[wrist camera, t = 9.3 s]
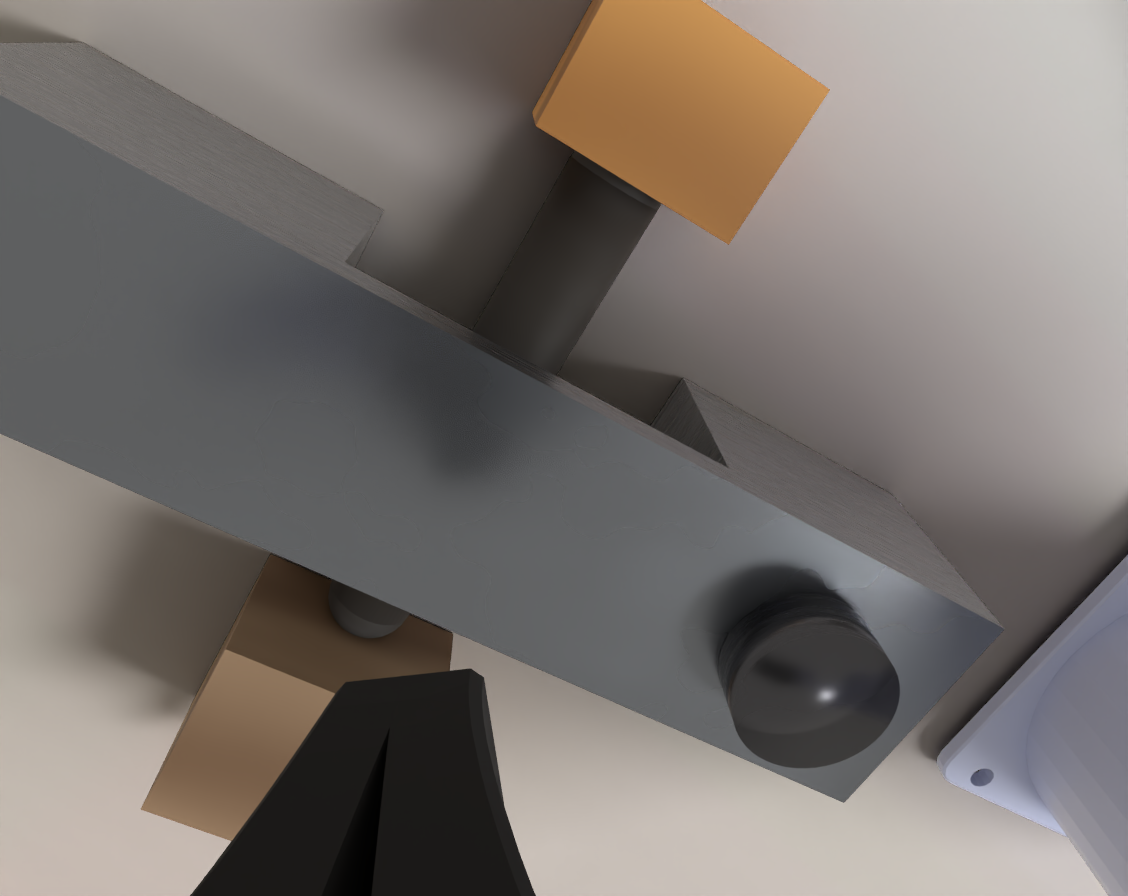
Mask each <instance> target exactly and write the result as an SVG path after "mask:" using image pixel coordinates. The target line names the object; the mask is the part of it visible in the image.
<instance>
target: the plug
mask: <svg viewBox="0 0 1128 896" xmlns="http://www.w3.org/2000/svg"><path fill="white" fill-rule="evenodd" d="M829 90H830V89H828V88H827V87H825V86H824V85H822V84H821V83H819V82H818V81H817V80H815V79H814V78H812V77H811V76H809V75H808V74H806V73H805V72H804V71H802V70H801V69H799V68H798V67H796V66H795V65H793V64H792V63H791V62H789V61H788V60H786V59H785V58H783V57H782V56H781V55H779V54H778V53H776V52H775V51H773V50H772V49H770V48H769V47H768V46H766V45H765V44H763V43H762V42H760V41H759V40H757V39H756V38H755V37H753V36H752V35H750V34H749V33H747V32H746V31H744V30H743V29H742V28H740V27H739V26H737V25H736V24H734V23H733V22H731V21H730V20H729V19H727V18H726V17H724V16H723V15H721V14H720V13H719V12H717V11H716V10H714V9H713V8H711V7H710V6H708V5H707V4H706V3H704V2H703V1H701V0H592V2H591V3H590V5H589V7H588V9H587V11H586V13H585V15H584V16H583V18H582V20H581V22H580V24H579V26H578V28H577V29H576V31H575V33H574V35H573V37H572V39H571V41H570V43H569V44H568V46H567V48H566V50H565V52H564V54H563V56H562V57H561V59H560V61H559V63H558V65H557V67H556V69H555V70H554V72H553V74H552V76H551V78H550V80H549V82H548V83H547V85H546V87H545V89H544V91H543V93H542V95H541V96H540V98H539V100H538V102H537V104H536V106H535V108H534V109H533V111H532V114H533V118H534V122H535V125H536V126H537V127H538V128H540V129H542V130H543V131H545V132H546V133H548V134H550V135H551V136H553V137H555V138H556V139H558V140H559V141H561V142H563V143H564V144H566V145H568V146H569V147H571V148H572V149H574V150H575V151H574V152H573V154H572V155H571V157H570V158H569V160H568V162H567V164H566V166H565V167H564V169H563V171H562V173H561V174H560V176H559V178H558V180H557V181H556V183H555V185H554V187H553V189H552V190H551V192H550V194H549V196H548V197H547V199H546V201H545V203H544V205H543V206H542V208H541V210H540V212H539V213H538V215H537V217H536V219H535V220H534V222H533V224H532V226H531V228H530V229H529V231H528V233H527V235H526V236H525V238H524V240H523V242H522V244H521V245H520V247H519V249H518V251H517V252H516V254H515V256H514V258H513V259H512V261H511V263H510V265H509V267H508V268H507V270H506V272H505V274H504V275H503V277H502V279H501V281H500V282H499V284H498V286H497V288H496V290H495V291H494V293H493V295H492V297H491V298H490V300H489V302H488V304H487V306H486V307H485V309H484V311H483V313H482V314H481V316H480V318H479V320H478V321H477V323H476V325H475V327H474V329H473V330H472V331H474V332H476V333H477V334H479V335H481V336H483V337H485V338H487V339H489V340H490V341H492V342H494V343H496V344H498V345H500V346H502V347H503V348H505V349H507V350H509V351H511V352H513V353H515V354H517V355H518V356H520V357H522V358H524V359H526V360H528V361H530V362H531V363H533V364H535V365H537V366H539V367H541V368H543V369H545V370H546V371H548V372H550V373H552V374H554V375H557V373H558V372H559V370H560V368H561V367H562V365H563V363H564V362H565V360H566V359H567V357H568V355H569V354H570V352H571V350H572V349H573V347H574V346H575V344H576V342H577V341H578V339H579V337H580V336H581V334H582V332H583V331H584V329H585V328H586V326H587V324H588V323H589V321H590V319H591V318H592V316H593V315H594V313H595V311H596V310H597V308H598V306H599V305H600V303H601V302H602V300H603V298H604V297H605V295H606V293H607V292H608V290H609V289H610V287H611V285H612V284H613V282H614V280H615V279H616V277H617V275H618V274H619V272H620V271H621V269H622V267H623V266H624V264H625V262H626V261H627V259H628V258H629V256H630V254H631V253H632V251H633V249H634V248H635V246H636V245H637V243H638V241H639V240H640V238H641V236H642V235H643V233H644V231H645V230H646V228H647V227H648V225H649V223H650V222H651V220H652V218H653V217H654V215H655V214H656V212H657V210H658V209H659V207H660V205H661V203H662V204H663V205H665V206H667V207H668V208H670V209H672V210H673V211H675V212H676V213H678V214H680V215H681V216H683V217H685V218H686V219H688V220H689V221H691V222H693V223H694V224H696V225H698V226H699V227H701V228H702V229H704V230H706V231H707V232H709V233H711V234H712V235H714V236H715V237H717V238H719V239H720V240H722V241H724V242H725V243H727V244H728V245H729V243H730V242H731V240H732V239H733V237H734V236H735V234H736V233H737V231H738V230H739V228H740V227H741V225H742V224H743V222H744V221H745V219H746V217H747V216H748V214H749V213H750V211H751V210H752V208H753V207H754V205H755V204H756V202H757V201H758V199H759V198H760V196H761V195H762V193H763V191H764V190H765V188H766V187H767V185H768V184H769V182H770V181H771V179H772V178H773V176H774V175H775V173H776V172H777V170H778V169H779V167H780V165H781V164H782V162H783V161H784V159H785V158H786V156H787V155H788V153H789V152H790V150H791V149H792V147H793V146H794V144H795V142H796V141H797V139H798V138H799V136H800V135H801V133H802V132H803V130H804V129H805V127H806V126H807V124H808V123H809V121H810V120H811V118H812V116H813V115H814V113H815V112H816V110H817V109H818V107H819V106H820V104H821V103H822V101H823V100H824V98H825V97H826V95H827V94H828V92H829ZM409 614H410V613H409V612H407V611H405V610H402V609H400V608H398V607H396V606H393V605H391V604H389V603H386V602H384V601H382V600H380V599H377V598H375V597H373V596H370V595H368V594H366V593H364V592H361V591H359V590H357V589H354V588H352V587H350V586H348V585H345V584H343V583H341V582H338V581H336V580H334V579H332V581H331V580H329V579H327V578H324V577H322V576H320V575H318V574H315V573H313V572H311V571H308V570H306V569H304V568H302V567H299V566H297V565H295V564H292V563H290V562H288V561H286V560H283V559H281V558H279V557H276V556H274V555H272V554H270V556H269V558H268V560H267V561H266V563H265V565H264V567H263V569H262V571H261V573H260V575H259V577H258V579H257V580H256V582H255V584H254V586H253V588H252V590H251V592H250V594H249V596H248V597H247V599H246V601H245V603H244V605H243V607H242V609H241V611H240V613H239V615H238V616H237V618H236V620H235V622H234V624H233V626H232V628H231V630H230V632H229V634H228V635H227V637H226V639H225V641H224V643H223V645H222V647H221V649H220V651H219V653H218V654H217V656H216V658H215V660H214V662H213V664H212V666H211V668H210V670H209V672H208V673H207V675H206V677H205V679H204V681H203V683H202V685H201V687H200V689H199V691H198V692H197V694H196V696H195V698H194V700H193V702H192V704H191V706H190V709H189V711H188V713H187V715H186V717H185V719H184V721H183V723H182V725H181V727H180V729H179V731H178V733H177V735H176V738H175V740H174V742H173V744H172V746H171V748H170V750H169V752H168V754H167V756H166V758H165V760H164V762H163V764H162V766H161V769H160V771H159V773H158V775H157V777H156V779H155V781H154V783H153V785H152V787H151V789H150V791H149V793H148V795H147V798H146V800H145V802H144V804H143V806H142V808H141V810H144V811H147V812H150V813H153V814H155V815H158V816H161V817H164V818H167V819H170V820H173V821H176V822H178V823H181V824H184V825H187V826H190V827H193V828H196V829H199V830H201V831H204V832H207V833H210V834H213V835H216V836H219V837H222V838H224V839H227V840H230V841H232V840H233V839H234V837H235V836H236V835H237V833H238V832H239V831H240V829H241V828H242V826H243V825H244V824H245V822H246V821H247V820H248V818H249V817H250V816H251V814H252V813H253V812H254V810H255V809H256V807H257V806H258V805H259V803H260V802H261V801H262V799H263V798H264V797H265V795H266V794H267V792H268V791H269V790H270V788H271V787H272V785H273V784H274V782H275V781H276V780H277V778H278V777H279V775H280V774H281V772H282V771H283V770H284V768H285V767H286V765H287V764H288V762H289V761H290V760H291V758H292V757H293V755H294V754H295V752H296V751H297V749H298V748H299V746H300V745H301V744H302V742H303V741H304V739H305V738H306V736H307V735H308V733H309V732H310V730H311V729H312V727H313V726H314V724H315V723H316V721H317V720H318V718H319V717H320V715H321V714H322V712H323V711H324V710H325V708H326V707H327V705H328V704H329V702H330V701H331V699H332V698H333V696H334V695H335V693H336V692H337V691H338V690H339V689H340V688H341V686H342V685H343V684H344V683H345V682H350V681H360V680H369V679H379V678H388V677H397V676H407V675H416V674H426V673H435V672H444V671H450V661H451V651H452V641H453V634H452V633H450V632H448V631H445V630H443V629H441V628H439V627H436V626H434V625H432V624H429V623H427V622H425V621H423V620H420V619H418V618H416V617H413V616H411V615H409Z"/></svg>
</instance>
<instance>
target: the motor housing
mask: <svg viewBox="0 0 1128 896" xmlns="http://www.w3.org/2000/svg"><path fill="white" fill-rule="evenodd" d="M383 211H384V210H382V209H380V208H379V207H377V206H375V205H373V204H371V203H370V202H368V201H366V200H364V199H362V198H361V197H359V196H357V195H355V194H353V193H352V192H350V191H348V190H346V189H345V188H343V187H341V186H339V185H337V184H336V183H334V182H332V181H330V180H328V179H327V178H325V177H323V176H321V175H319V174H318V173H316V172H314V171H312V170H311V169H309V168H307V167H305V166H303V165H302V164H300V163H298V162H296V161H294V160H293V159H291V158H289V157H287V156H285V155H284V154H282V153H280V152H278V151H277V150H275V149H273V148H271V147H269V146H268V145H266V144H264V143H262V142H260V141H259V140H257V139H255V138H253V137H251V136H250V135H248V134H246V133H244V132H243V131H241V130H239V129H237V128H235V127H234V126H232V125H230V124H228V123H226V122H225V121H223V120H221V119H219V118H217V117H216V116H214V115H212V114H210V113H208V112H207V111H205V110H203V109H201V108H200V107H198V106H196V105H194V104H192V103H191V102H189V101H187V100H185V99H183V98H182V97H180V96H178V95H176V94H174V93H173V92H171V91H169V90H167V89H166V88H164V87H162V86H160V85H158V84H157V83H155V82H153V81H151V80H149V79H148V78H146V77H144V76H142V75H140V74H139V73H137V72H135V71H133V70H132V69H130V68H128V67H126V66H124V65H123V64H121V63H119V62H117V61H115V60H114V59H112V58H110V57H108V56H106V55H105V54H103V53H101V52H99V51H98V50H96V49H94V48H92V47H90V46H89V45H87V44H85V43H0V434H3V435H5V436H7V437H9V438H12V439H14V440H16V441H19V442H21V443H23V444H25V445H28V446H30V447H32V448H35V449H37V450H39V451H41V452H44V453H46V454H48V455H51V456H53V457H55V458H57V459H60V460H62V461H64V462H67V463H69V464H71V465H73V466H76V467H78V468H80V469H83V470H85V471H87V472H89V473H92V474H94V475H96V476H99V477H101V478H103V479H105V480H108V481H110V482H112V483H115V484H117V485H119V486H121V487H124V488H126V489H128V490H131V491H133V492H135V493H137V494H140V495H142V496H144V497H147V498H149V499H151V500H153V501H156V502H158V503H160V504H163V505H165V506H167V507H169V508H172V509H174V510H176V511H179V512H181V513H183V514H185V515H188V516H190V517H192V518H194V519H197V520H199V521H201V522H204V523H206V524H208V525H210V526H213V527H215V528H217V529H220V530H222V531H224V532H226V533H229V534H231V535H233V536H236V537H238V538H240V539H242V540H245V541H247V542H249V543H252V544H254V545H256V546H258V547H261V548H263V549H265V550H268V551H270V552H272V553H274V554H277V555H279V556H281V557H284V558H286V559H288V560H290V561H293V562H295V563H297V564H300V565H302V566H304V567H306V568H309V569H311V570H313V571H316V572H318V573H320V574H322V575H325V576H327V577H329V578H332V579H334V580H336V581H338V582H341V583H343V584H345V585H348V586H350V587H352V588H354V589H357V590H359V591H361V592H364V593H366V594H368V595H370V596H373V597H375V598H377V599H380V600H382V601H384V602H386V603H389V604H391V605H393V606H396V607H398V608H400V609H402V610H405V611H407V612H409V613H412V614H414V615H416V616H418V617H421V618H423V619H425V620H428V621H430V622H432V623H434V624H437V625H439V626H441V627H444V628H446V629H448V630H450V631H453V632H455V633H457V634H459V635H462V636H464V637H466V638H469V639H471V640H473V641H475V642H478V643H480V644H482V645H485V646H487V647H489V648H491V649H494V650H496V651H498V652H501V653H503V654H505V655H507V656H510V657H512V658H514V659H517V660H519V661H521V662H523V663H526V664H528V665H530V666H533V667H535V668H537V669H539V670H542V671H544V672H546V673H549V674H551V675H553V676H555V677H558V678H560V679H562V680H565V681H567V682H569V683H571V684H574V685H576V686H578V687H581V688H583V689H585V690H587V691H590V692H592V693H594V694H597V695H599V696H601V697H603V698H606V699H608V700H610V701H613V702H615V703H617V704H619V705H622V706H624V707H626V708H629V709H631V710H633V711H635V712H638V713H640V714H642V715H645V716H647V717H649V718H651V719H654V720H656V721H658V722H661V723H663V724H665V725H667V726H670V727H672V728H674V729H677V730H679V731H681V732H683V733H686V734H688V735H690V736H693V737H695V738H697V739H699V740H702V741H704V742H706V743H709V744H711V745H713V746H715V747H718V748H720V749H722V750H724V751H727V752H729V753H731V754H734V755H736V756H738V757H740V758H743V759H745V760H747V761H750V762H752V763H754V764H756V765H759V766H761V767H763V768H766V769H768V770H770V771H772V772H775V773H777V774H779V775H782V776H784V777H786V778H788V779H791V780H793V781H795V782H798V783H800V784H802V785H804V786H807V787H809V788H811V789H814V790H816V791H818V792H820V793H823V794H825V795H827V796H830V797H832V798H834V799H836V800H839V801H841V802H843V803H844V802H845V801H846V800H847V799H848V798H849V797H850V796H851V795H852V794H853V793H854V791H855V790H856V789H857V788H858V787H859V786H860V785H861V784H862V783H863V782H864V781H865V780H866V779H867V777H868V776H869V775H870V774H871V773H872V772H873V771H874V770H875V769H876V768H877V767H878V766H879V764H880V763H881V762H882V761H883V760H884V759H885V758H886V757H887V756H888V755H889V754H890V753H891V751H892V750H893V749H894V748H895V747H896V746H897V745H898V744H899V743H900V742H901V741H902V740H903V738H904V737H905V736H906V735H907V734H908V733H909V732H910V731H911V730H912V729H913V728H914V727H915V725H916V724H917V723H918V722H919V721H920V720H921V719H922V718H923V717H924V716H925V715H926V714H927V712H928V711H929V710H930V709H931V708H932V707H933V706H934V705H935V704H936V703H937V702H938V701H939V699H940V698H941V697H942V696H943V695H944V694H945V693H946V692H947V691H948V690H949V689H950V688H951V686H952V685H953V684H954V683H955V682H956V681H957V680H958V679H959V678H960V677H961V676H962V675H963V674H964V672H965V671H966V670H967V669H968V668H969V667H970V666H971V665H972V664H973V663H974V662H975V661H976V659H977V658H978V657H979V656H980V655H981V654H982V653H983V652H984V651H985V650H986V649H987V648H988V646H989V645H990V644H991V643H992V642H993V641H994V640H995V639H996V638H997V637H998V636H999V635H1000V633H1001V632H1002V631H1003V630H1004V627H1003V626H1002V625H1001V624H1000V623H999V621H998V620H997V619H996V618H995V617H994V615H993V614H992V613H991V612H990V611H989V609H988V608H987V607H986V606H985V605H984V603H983V602H982V601H981V600H980V599H979V597H978V596H977V595H976V594H975V593H974V591H973V590H972V589H971V588H970V587H969V585H968V584H967V583H966V582H965V581H964V579H963V578H962V577H961V576H960V575H959V573H958V572H957V571H956V570H955V569H954V567H953V566H952V565H951V564H950V563H949V562H948V560H947V559H946V558H945V557H944V556H943V554H942V553H941V552H940V551H939V550H938V548H937V547H936V546H935V545H934V544H933V542H932V541H931V540H930V539H929V538H928V536H927V535H926V534H925V533H924V532H923V530H922V529H921V528H920V527H919V526H918V524H917V523H916V522H915V521H914V520H913V518H912V517H911V516H910V515H909V514H908V512H907V511H906V510H905V509H904V508H903V506H902V505H901V504H900V503H899V502H898V500H897V499H896V498H895V497H894V496H893V495H892V494H890V493H889V492H887V491H885V490H883V489H881V488H880V487H878V486H876V485H874V484H872V483H871V482H869V481H867V480H865V479H863V478H862V477H860V476H858V475H856V474H855V473H853V472H851V471H849V470H847V469H846V468H844V467H842V466H840V465H838V464H837V463H835V462H833V461H831V460H829V459H828V458H826V457H824V456H822V455H821V454H819V453H817V452H815V451H813V450H812V449H810V448H808V447H806V446H804V445H803V444H801V443H799V442H797V441H795V440H794V439H792V438H790V437H788V436H787V435H785V434H783V433H781V432H779V431H778V430H776V429H774V428H772V427H770V426H769V425H767V424H765V423H763V422H761V421H760V420H758V419H756V418H754V417H753V416H751V415H749V414H747V413H745V412H744V411H742V410H740V409H738V408H736V407H735V406H733V405H731V404H729V403H727V402H726V401H724V400H722V399H720V398H719V397H717V396H715V395H713V394H711V393H710V392H708V391H706V390H704V389H702V388H701V387H699V386H697V385H695V384H693V383H692V382H690V381H688V380H686V379H685V378H682V380H681V381H680V383H679V384H678V385H677V387H676V388H675V390H674V391H673V393H672V394H671V396H670V397H669V399H668V400H667V402H666V403H665V405H664V406H663V408H662V409H661V411H660V412H659V414H658V415H657V417H656V418H655V420H654V421H653V423H652V424H651V426H649V425H647V424H645V423H643V422H641V421H640V420H638V419H636V418H634V417H632V416H630V415H628V414H627V413H625V412H623V411H621V410H619V409H617V408H615V407H614V406H612V405H610V404H608V403H606V402H604V401H602V400H600V399H599V398H597V397H595V396H593V395H591V394H589V393H587V392H586V391H584V390H582V389H580V388H578V387H576V386H574V385H572V384H571V383H569V382H567V381H565V380H563V379H561V378H559V377H558V376H556V375H554V374H552V373H550V372H548V371H546V370H545V369H543V368H541V367H539V366H537V365H535V364H533V363H531V362H530V361H528V360H526V359H524V358H522V357H520V356H518V355H517V354H515V353H513V352H511V351H509V350H507V349H505V348H503V347H502V346H500V345H498V344H496V343H494V342H492V341H490V340H489V339H487V338H485V337H483V336H481V335H479V334H477V333H476V332H474V331H472V330H470V329H468V328H466V327H464V326H462V325H461V324H459V323H457V322H455V321H453V320H451V319H449V318H448V317H446V316H444V315H442V314H440V313H438V312H436V311H434V310H433V309H431V308H429V307H427V306H425V305H423V304H421V303H420V302H418V301H416V300H414V299H412V298H410V297H408V296H407V295H405V294H403V293H401V292H399V291H397V290H395V289H393V288H392V287H390V286H388V285H386V284H384V283H382V282H380V281H379V280H377V279H375V278H373V277H371V276H369V275H367V274H365V273H364V272H362V271H360V270H358V269H356V268H355V267H356V265H357V263H358V261H359V259H360V257H361V255H362V253H363V251H364V249H365V247H366V245H367V243H368V241H369V239H370V237H371V235H372V233H373V231H374V229H375V227H376V225H377V223H378V221H379V219H380V217H381V215H382V213H383Z"/></svg>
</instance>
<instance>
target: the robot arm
mask: <svg viewBox="0 0 1128 896" xmlns="http://www.w3.org/2000/svg"><path fill="white" fill-rule="evenodd" d="M937 766H938V768H939V770H940V772H941V774H942V775H943V777H944V779H945V780H947V781H948V782H949V783H951V784H953V785H955V786H957V787H960V788H962V789H964V790H966V791H968V792H970V793H973V794H975V795H977V796H979V797H981V798H983V799H986V800H988V801H990V802H992V803H994V804H996V805H998V806H1001V807H1003V808H1005V809H1007V810H1009V811H1011V812H1014V813H1016V814H1018V815H1020V816H1022V817H1024V818H1027V819H1029V820H1031V821H1033V822H1035V823H1037V824H1040V825H1042V826H1044V827H1046V828H1048V829H1050V830H1053V831H1055V832H1057V833H1059V834H1061V835H1063V836H1066V837H1068V838H1069V840H1070V841H1071V843H1072V844H1073V845H1074V847H1075V848H1076V850H1077V851H1078V853H1079V854H1080V856H1081V857H1082V858H1083V860H1084V861H1085V863H1086V864H1087V866H1088V867H1089V868H1090V870H1091V871H1092V873H1093V874H1094V876H1095V877H1096V879H1097V880H1098V881H1099V883H1100V884H1101V886H1102V887H1103V889H1104V890H1105V891H1106V893H1107V894H1108V896H1128V555H1127V556H1126V557H1125V558H1124V559H1123V560H1122V561H1121V562H1120V563H1119V565H1118V566H1117V567H1116V568H1115V569H1114V570H1113V571H1112V572H1111V573H1110V574H1109V575H1108V576H1107V577H1106V578H1105V579H1104V580H1103V581H1102V582H1101V583H1100V584H1099V586H1098V587H1097V588H1096V589H1095V590H1094V591H1093V592H1092V593H1091V594H1090V595H1089V596H1088V597H1087V598H1086V599H1085V600H1084V601H1083V602H1082V603H1081V604H1080V606H1079V607H1078V608H1077V609H1076V610H1075V611H1074V612H1073V613H1072V614H1071V615H1070V616H1069V617H1068V618H1067V619H1066V620H1065V621H1064V622H1063V623H1062V624H1061V625H1060V627H1059V628H1058V629H1057V630H1056V631H1055V632H1054V633H1053V634H1052V635H1051V636H1050V637H1049V638H1048V639H1047V640H1046V641H1045V642H1044V643H1043V644H1042V645H1041V647H1040V648H1039V649H1038V650H1037V651H1036V652H1035V653H1034V654H1033V655H1032V656H1031V657H1030V658H1029V659H1028V660H1027V661H1026V662H1025V663H1024V664H1023V665H1022V667H1021V668H1020V669H1019V670H1018V671H1017V672H1016V673H1015V674H1014V675H1013V676H1012V677H1011V678H1010V679H1009V680H1008V681H1007V682H1006V683H1005V684H1004V685H1003V686H1002V688H1001V689H1000V690H999V691H998V692H997V693H996V694H995V695H994V696H993V697H992V698H991V699H990V700H989V701H988V702H987V703H986V704H985V705H984V706H983V708H982V709H981V710H980V711H979V712H978V713H977V714H976V715H975V716H974V717H973V718H972V719H971V720H970V721H969V722H968V723H967V724H966V725H965V726H964V728H963V729H962V730H961V731H960V732H959V733H958V734H957V735H956V736H955V737H954V738H953V739H952V740H951V741H950V742H949V743H948V744H947V745H946V746H945V747H944V749H943V750H942V751H941V752H940V754H939V755H938V757H937ZM980 769H981V770H980ZM977 770H980V771H978V772H976V771H977ZM974 772H975V773H974ZM190 896H536V895H535V893H534V891H533V888H532V886H531V883H530V880H529V878H528V875H527V872H526V869H525V867H524V864H523V861H522V859H521V856H520V853H519V850H518V847H517V844H516V841H515V838H514V835H513V832H512V829H511V826H510V823H509V820H508V817H507V814H506V811H505V808H504V801H503V795H502V789H501V783H500V776H499V770H498V764H497V757H496V751H495V745H494V739H493V732H492V726H491V720H490V714H489V707H488V701H487V695H486V689H485V682H484V677H482V676H481V675H479V674H478V673H476V672H475V671H474V670H472V669H463V670H454V671H444V672H435V673H426V674H416V675H407V676H397V677H388V678H379V679H369V680H360V681H350V682H345V683H344V684H343V685H342V686H341V688H340V689H339V690H338V691H337V692H336V693H335V695H334V696H333V698H332V699H331V701H330V702H329V704H328V705H327V707H326V708H325V710H324V711H323V712H322V714H321V715H320V717H319V718H318V720H317V721H316V723H315V724H314V726H313V727H312V729H311V730H310V732H309V733H308V735H307V736H306V738H305V739H304V741H303V742H302V744H301V745H300V746H299V748H298V749H297V751H296V752H295V754H294V755H293V757H292V758H291V760H290V761H289V762H288V764H287V765H286V767H285V768H284V770H283V771H282V772H281V774H280V775H279V777H278V778H277V780H276V781H275V782H274V784H273V785H272V787H271V788H270V790H269V791H268V792H267V794H266V795H265V797H264V798H263V799H262V801H261V802H260V803H259V805H258V806H257V807H256V809H255V810H254V812H253V813H252V814H251V816H250V817H249V818H248V820H247V821H246V822H245V824H244V825H243V826H242V828H241V829H240V831H239V832H238V833H237V835H236V836H235V837H234V839H233V840H232V841H231V843H230V844H229V845H228V847H227V848H226V850H225V851H224V852H223V854H222V855H221V856H220V858H219V859H218V860H217V862H216V863H215V864H214V866H213V867H212V868H211V870H210V871H209V872H208V874H207V875H206V876H205V877H204V879H203V880H202V881H201V883H200V884H199V885H198V887H197V888H196V889H195V890H194V891H193V893H192V894H191V895H190Z"/></svg>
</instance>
